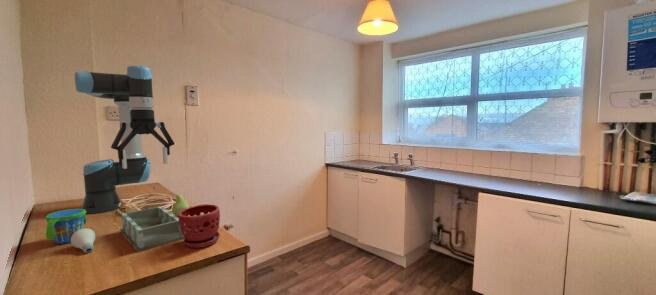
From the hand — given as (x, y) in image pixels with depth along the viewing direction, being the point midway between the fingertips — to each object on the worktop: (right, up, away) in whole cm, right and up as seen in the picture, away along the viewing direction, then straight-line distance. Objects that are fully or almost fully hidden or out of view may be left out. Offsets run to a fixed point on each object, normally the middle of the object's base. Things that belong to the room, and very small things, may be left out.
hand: (146, 165), depth 110 cm
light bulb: (-13, -27, -12) cm, 33 cm away
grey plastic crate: (+3, -26, -1) cm, 26 cm away
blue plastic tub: (-25, -27, -5) cm, 37 cm away
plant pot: (+24, -27, -8) cm, 37 cm away
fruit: (+3, -24, +19) cm, 31 cm away
